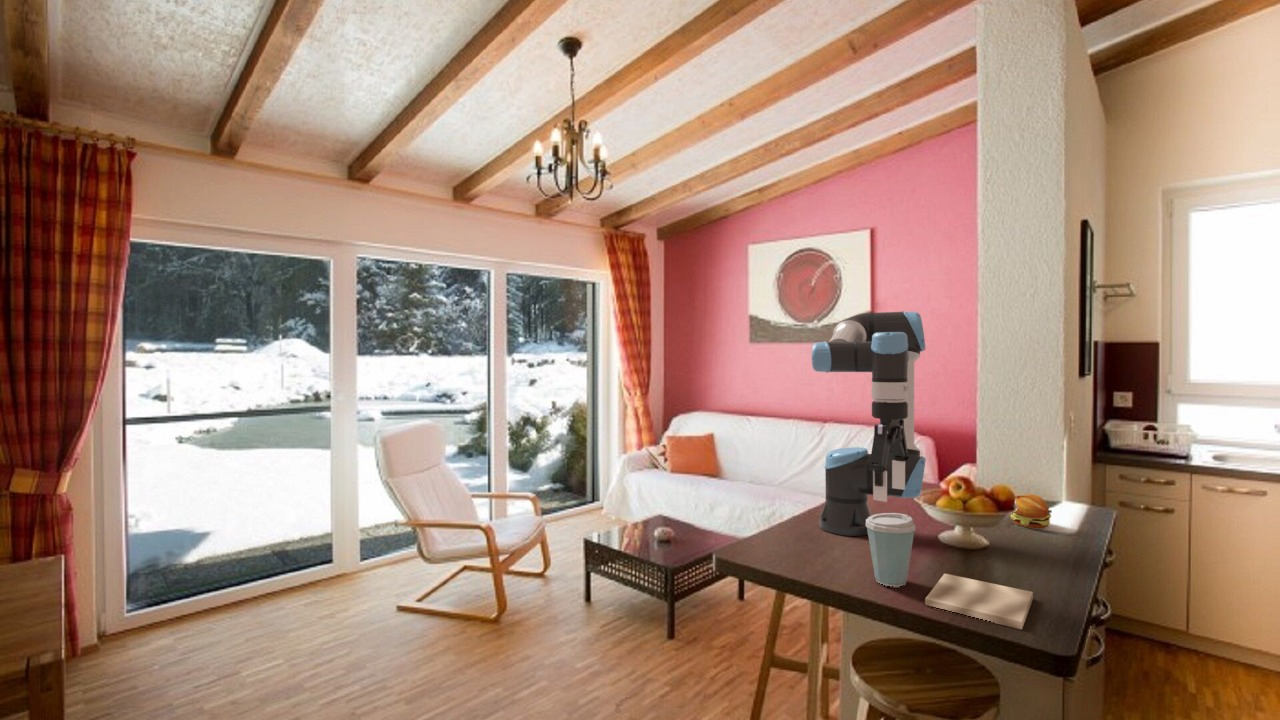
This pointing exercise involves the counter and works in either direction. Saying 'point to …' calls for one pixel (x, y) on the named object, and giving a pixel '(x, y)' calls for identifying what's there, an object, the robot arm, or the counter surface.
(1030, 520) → the cheeseburger
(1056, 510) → the counter surface
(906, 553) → the disposable coffee cup
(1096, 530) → the counter surface
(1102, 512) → the counter surface
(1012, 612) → the birch board
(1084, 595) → the counter surface
